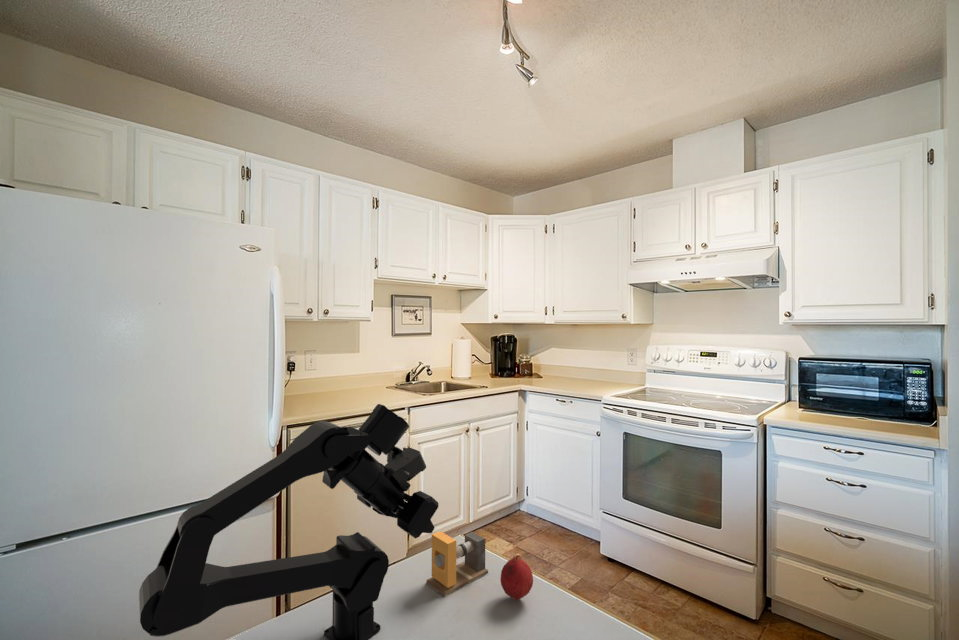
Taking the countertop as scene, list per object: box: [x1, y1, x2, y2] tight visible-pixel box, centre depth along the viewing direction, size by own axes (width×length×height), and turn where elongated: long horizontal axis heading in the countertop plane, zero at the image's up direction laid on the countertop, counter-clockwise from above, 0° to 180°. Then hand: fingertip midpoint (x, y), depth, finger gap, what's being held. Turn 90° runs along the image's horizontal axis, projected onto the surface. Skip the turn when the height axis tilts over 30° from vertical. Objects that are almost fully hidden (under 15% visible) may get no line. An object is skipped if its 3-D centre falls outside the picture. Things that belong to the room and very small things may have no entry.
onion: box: [500, 553, 534, 601], centre depth 76 cm, size 6×6×8 cm
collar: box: [431, 531, 457, 588], centre depth 80 cm, size 2×5×8 cm, turn 43°
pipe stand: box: [425, 531, 489, 597], centre depth 83 cm, size 11×6×6 cm, turn 133°
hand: (423, 524), depth 77 cm, fingers open, 6 cm apart
